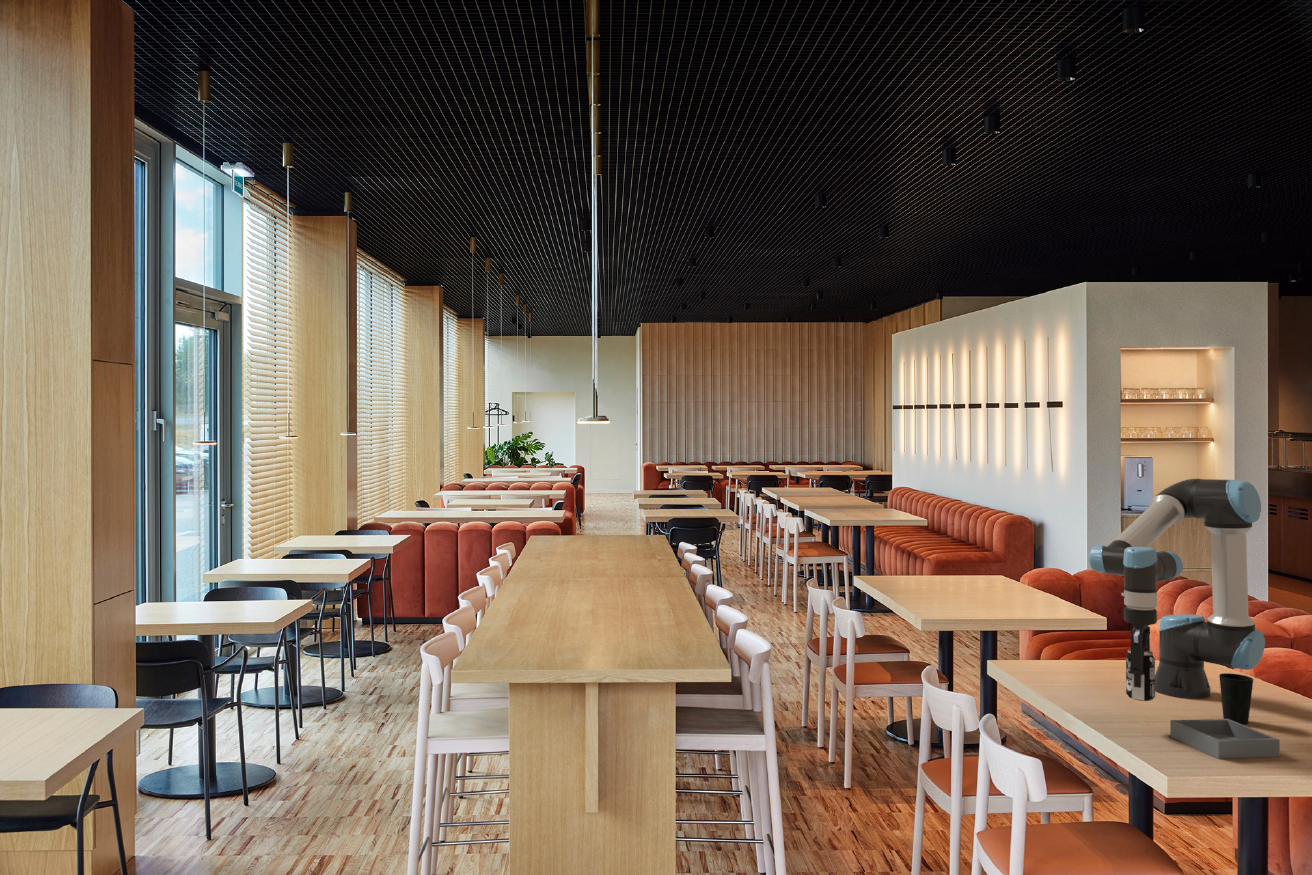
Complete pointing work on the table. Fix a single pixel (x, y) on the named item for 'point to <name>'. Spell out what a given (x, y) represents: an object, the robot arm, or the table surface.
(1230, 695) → the cup
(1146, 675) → the beverage can
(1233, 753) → the tray
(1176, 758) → the table surface
